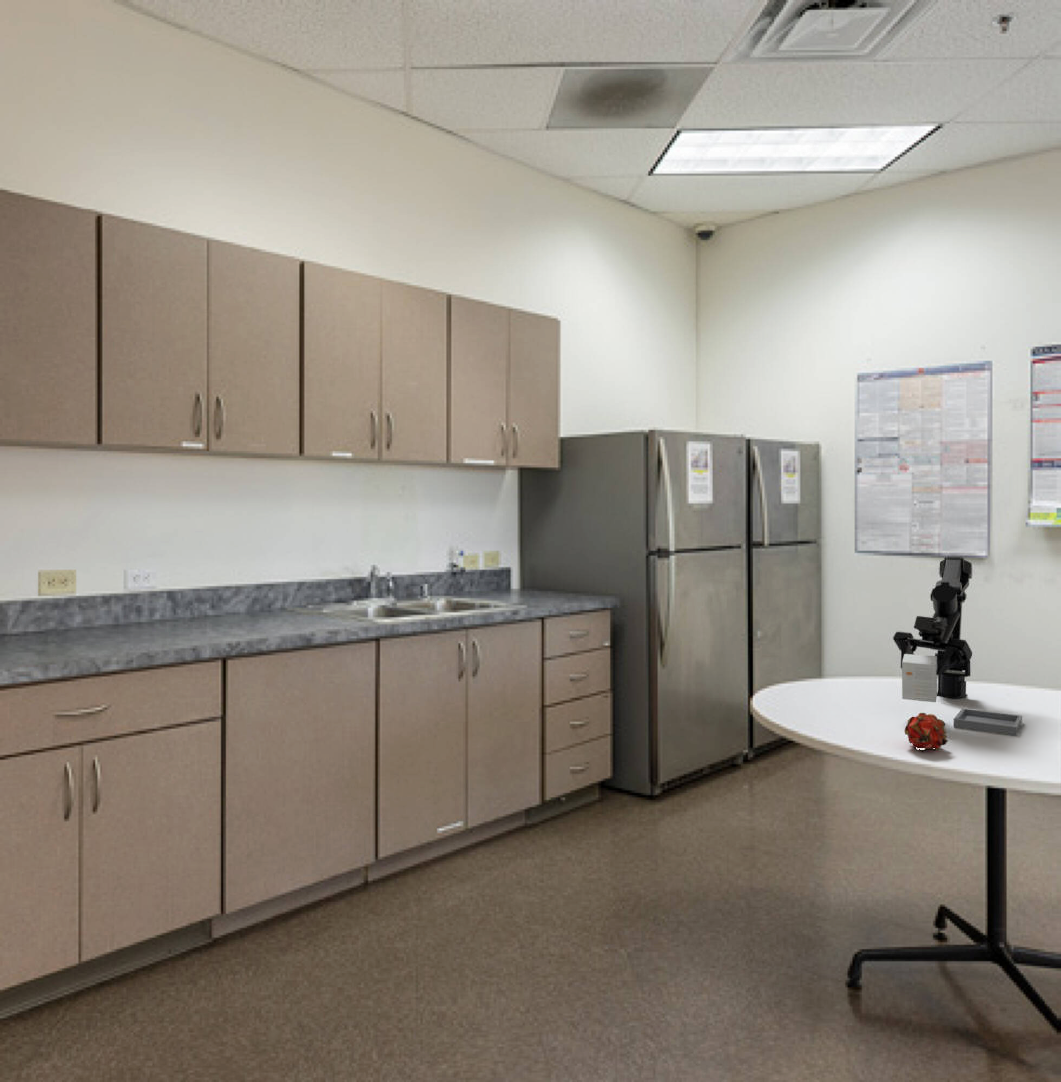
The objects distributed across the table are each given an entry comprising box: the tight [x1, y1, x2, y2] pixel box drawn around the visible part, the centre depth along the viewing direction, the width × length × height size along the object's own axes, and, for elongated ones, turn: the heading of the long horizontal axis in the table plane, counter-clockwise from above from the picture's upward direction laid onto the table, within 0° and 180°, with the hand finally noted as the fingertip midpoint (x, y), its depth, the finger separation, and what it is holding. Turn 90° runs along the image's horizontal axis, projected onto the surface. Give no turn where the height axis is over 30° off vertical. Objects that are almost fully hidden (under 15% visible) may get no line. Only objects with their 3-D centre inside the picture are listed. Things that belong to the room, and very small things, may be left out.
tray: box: [953, 707, 1023, 736], centre depth 213 cm, size 14×14×2 cm
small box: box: [901, 654, 938, 703], centre depth 219 cm, size 8×6×10 cm
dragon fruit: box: [904, 712, 949, 750], centre depth 193 cm, size 8×8×12 cm
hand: (919, 671), depth 218 cm, fingers closed on small box, 9 cm apart
